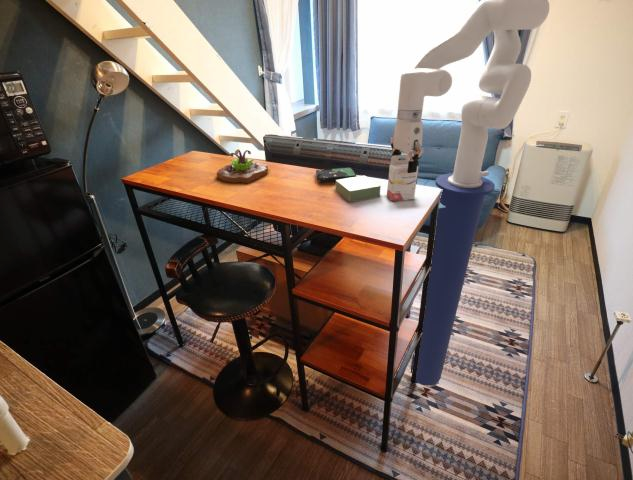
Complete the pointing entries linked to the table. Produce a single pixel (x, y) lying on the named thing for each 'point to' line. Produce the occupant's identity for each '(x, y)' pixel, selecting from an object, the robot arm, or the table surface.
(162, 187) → the table surface
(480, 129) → the robot arm
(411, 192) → the ink cartridge box
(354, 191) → the green block
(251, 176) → the plant
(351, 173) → the disk drive
